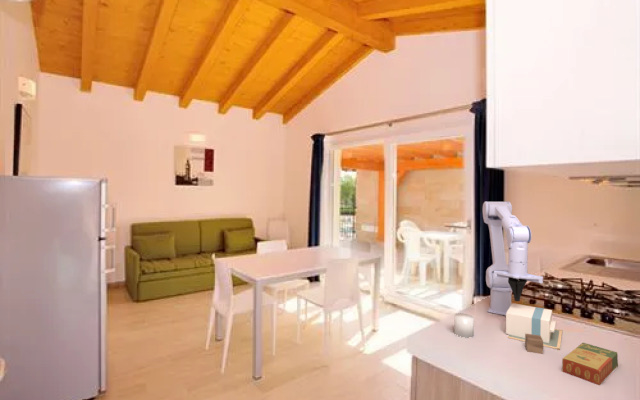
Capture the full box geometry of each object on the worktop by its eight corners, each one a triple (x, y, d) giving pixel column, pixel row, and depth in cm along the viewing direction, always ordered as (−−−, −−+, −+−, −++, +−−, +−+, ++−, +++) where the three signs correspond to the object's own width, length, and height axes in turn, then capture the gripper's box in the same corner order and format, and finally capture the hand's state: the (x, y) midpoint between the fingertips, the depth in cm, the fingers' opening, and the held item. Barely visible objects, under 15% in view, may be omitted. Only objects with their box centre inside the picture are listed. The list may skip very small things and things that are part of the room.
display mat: (515, 321, 125) (515, 320, 125) (562, 330, 117) (562, 330, 117) (507, 337, 112) (507, 337, 112) (559, 350, 103) (559, 349, 103)
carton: (561, 372, 92) (561, 357, 92) (581, 355, 101) (582, 340, 101) (600, 387, 85) (600, 370, 85) (618, 366, 95) (618, 351, 94)
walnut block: (525, 346, 106) (525, 333, 106) (540, 348, 105) (540, 335, 105) (527, 351, 103) (527, 338, 102) (543, 354, 101) (543, 341, 101)
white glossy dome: (457, 328, 119) (457, 312, 119) (475, 333, 116) (475, 315, 115) (451, 334, 114) (452, 317, 114) (471, 339, 111) (471, 321, 111)
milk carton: (512, 303, 124) (556, 310, 116) (511, 322, 124) (556, 331, 116) (506, 313, 114) (553, 322, 106) (506, 333, 114) (553, 344, 106)
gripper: (492, 260, 118) (491, 299, 119) (542, 266, 109) (541, 308, 110) (496, 257, 124) (495, 294, 124) (544, 262, 115) (543, 302, 115)
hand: (517, 300), depth 117 cm, fingers closed
